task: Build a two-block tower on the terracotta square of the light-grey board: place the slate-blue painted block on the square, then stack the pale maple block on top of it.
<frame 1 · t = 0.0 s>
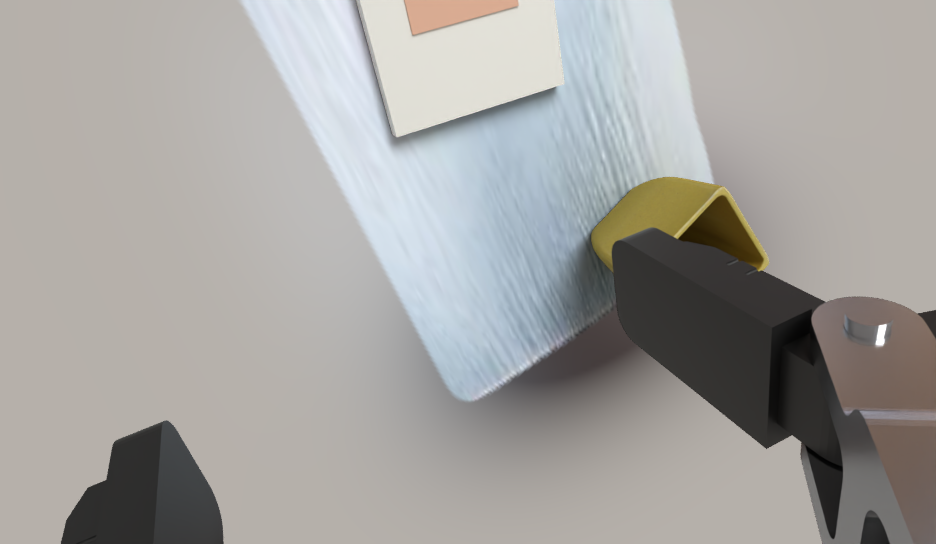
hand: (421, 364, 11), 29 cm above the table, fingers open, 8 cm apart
flower pot: (625, 228, 49), on the table
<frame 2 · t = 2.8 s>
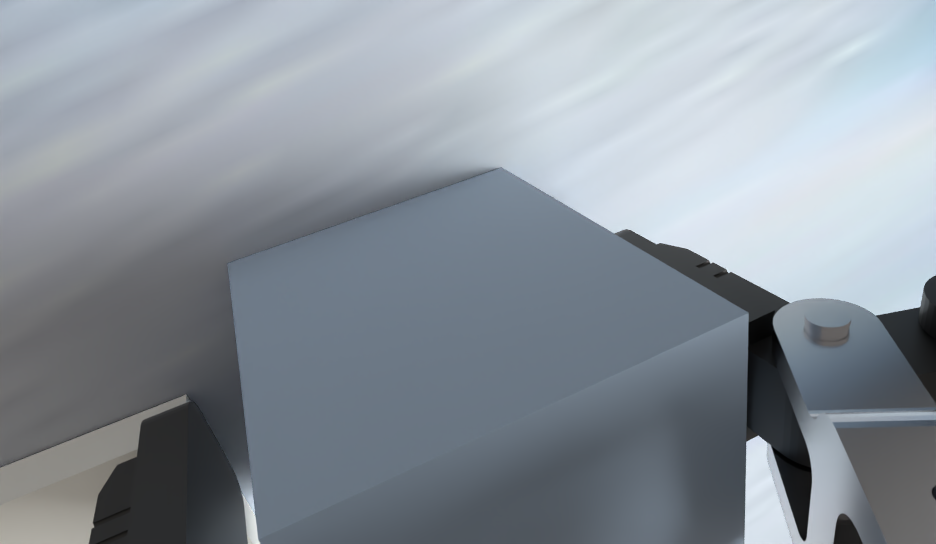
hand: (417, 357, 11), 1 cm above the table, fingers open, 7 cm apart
slate block: (407, 328, 12), on the table
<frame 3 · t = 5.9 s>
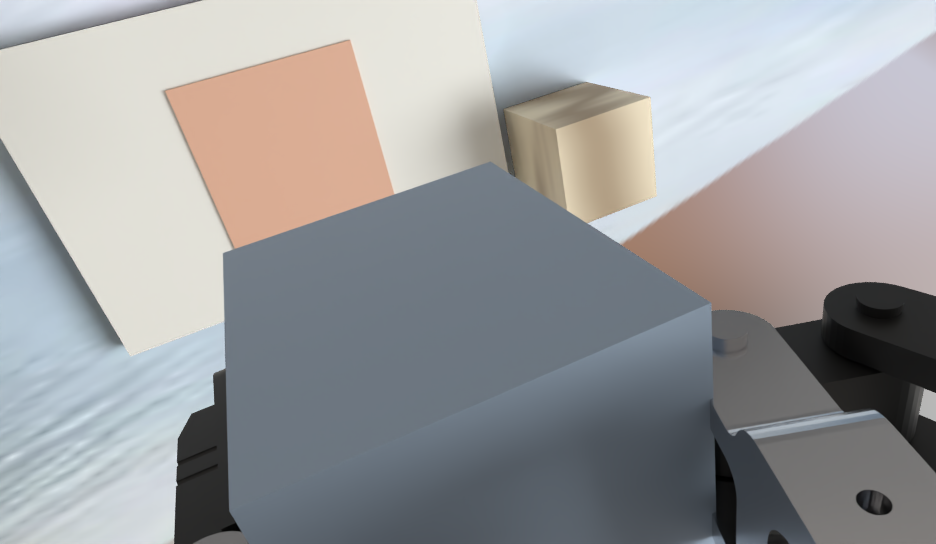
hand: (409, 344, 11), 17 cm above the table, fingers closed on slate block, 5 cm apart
slate block: (400, 319, 12), point 16 cm above the table, touching gripper
maple block: (551, 140, 30), on the table
board: (289, 147, 26), on the table
when the fingers open (3 cm above the table, at t = 8.8 s): slate block stays where it is, resting on board.
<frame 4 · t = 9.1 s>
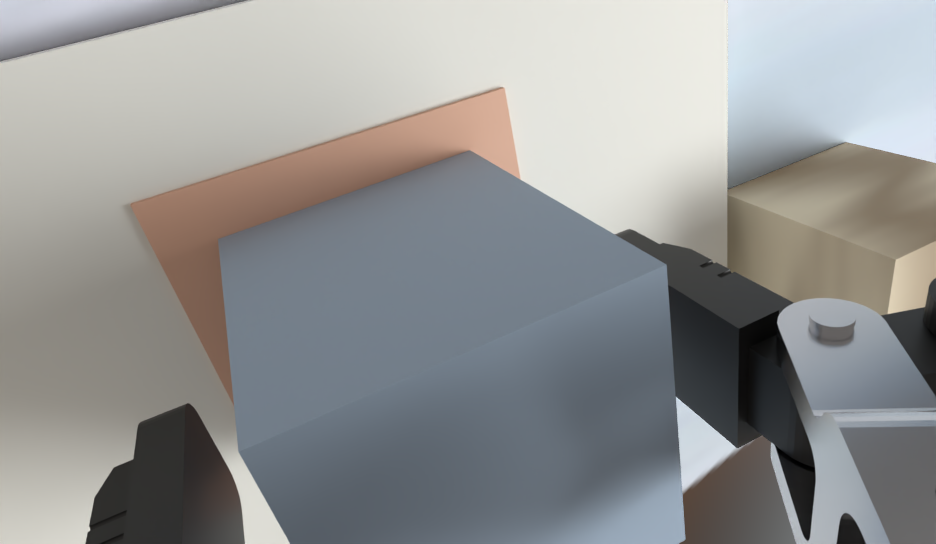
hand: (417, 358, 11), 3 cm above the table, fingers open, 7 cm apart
slate block: (387, 301, 13), point 1 cm above the table, touching board
maple block: (780, 236, 18), on the table
board: (370, 281, 14), on the table
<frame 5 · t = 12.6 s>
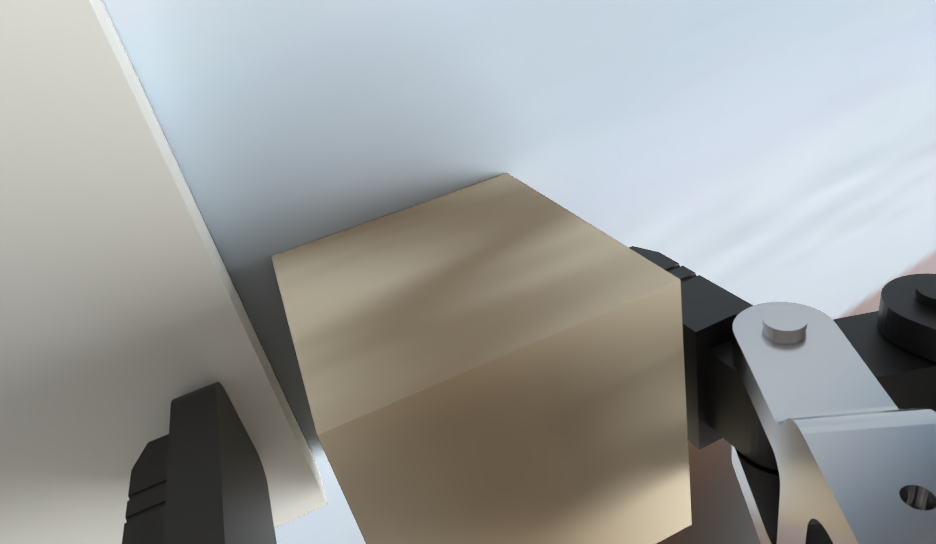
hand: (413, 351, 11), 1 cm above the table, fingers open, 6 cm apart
maple block: (423, 313, 12), on the table
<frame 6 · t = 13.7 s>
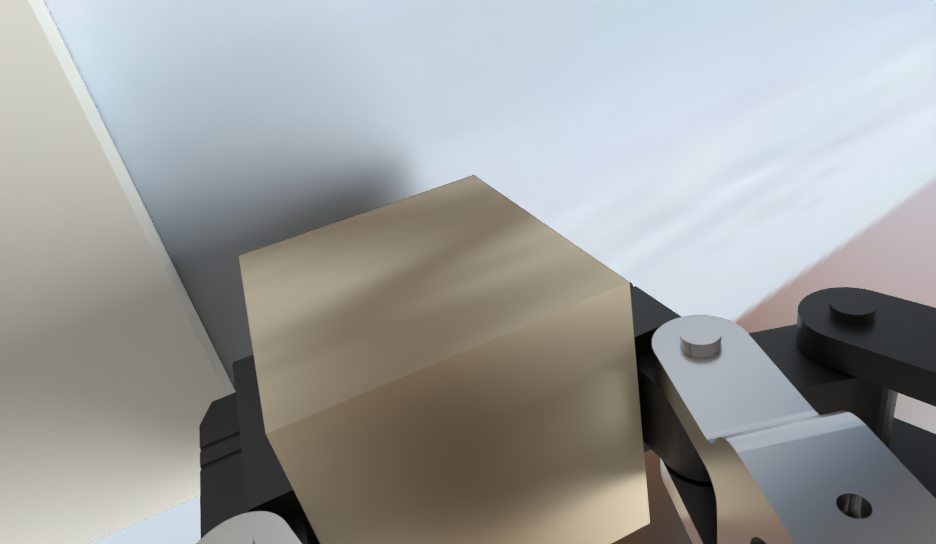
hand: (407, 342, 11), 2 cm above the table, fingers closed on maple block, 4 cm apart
maple block: (393, 314, 12), point 1 cm above the table, touching gripper
when the fingers open (9 cm above the table, at t = 17.7 s): maple block stays where it is, resting on slate block.
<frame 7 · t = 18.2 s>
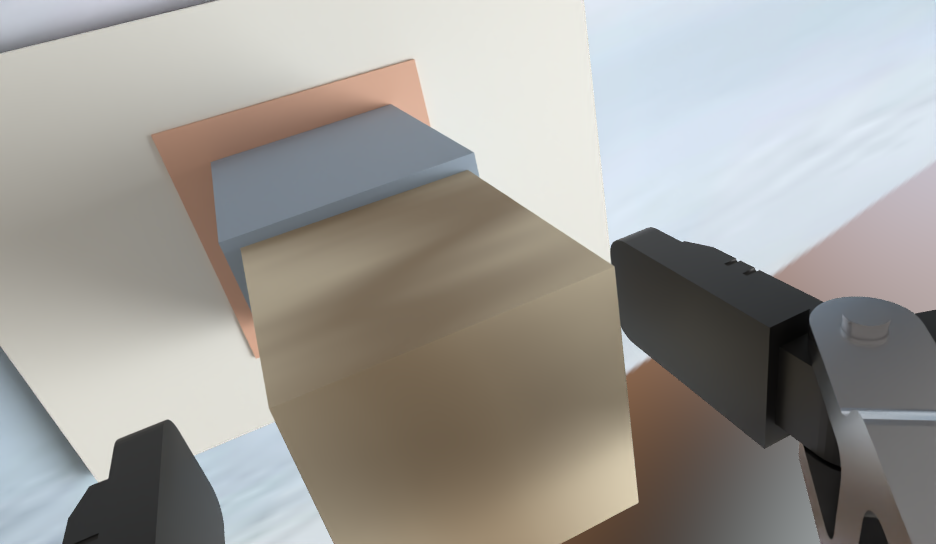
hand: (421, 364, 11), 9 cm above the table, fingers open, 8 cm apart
slate block: (334, 215, 18), point 1 cm above the table, touching board, maple block
maple block: (390, 306, 13), point 7 cm above the table, touching slate block
board: (324, 204, 19), on the table
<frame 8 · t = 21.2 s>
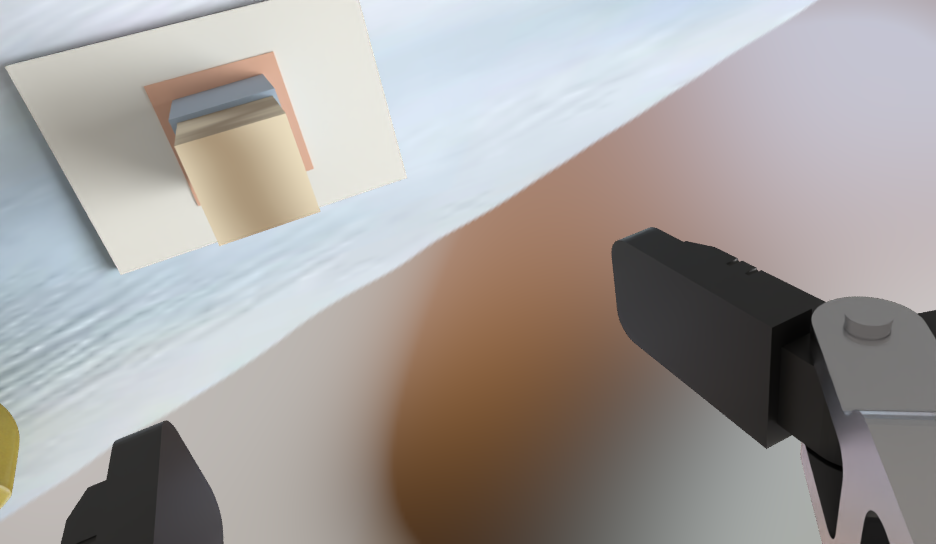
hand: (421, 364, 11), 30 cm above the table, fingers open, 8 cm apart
slate block: (236, 130, 35), point 1 cm above the table, touching board, maple block
maple block: (243, 154, 30), point 7 cm above the table, touching slate block
board: (233, 127, 36), on the table
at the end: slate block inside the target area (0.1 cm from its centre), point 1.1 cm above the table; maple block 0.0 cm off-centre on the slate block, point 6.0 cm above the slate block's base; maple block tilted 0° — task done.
